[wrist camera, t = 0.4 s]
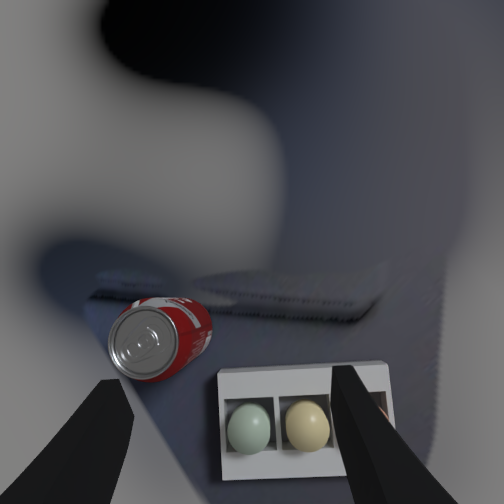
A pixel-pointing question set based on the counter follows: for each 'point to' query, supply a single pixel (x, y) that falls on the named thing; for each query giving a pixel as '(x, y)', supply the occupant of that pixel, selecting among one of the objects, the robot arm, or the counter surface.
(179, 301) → the soda can
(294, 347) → the counter surface
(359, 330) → the counter surface
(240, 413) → the sage button
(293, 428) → the mustard button
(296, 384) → the console
